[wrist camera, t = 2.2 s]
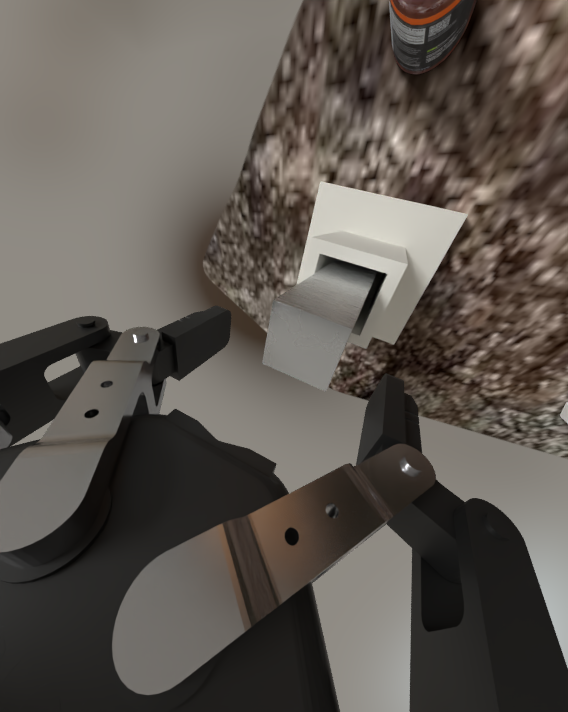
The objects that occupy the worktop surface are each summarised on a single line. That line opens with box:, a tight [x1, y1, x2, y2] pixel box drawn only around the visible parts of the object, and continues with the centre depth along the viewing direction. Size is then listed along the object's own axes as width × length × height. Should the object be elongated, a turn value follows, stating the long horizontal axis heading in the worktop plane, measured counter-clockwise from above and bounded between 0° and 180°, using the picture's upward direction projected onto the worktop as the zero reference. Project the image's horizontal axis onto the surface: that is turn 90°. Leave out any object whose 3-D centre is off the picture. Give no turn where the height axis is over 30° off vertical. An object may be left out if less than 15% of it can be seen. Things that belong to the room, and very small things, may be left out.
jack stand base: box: [297, 181, 468, 349], centre depth 25 cm, size 16×16×15 cm
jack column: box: [262, 259, 378, 391], centre depth 21 cm, size 4×4×22 cm
